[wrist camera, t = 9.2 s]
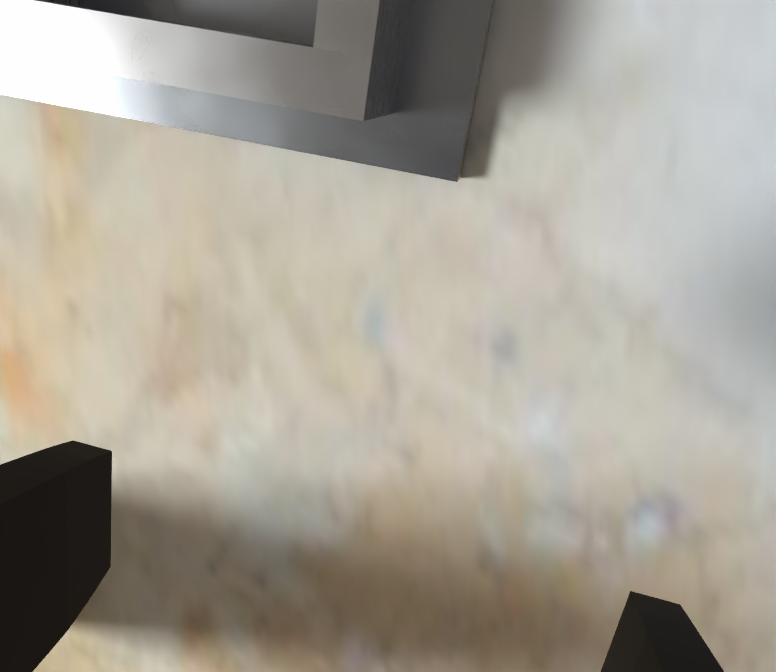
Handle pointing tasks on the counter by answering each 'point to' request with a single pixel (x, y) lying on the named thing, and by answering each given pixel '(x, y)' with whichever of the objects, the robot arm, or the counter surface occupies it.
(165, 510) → the counter surface
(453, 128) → the port
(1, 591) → the robot arm
